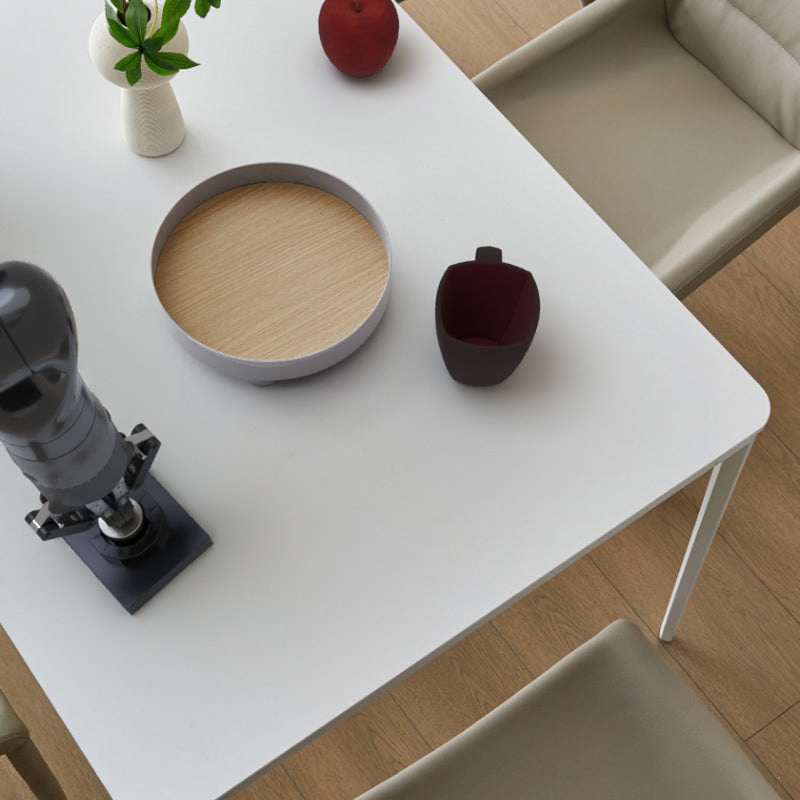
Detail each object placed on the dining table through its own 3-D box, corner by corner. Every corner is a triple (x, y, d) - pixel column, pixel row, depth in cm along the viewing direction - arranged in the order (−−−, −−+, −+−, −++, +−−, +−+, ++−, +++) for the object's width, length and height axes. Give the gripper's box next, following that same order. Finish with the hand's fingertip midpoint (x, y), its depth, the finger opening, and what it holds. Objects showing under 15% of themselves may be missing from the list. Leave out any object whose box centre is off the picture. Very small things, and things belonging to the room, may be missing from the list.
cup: (427, 400, 105) (431, 345, 94) (436, 286, 111) (441, 221, 100) (523, 408, 104) (539, 354, 94) (527, 293, 110) (542, 229, 100)
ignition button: (94, 523, 95) (89, 516, 93) (128, 495, 96) (123, 488, 94) (121, 553, 94) (116, 546, 92) (155, 524, 95) (151, 517, 93)
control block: (54, 528, 98) (41, 514, 95) (135, 460, 102) (126, 445, 98) (131, 615, 95) (121, 605, 91) (213, 543, 98) (207, 530, 94)
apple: (410, 47, 125) (412, -18, 116) (380, 103, 121) (380, 40, 112) (339, 25, 127) (336, -41, 118) (308, 79, 123) (301, 16, 114)
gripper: (103, 355, 80) (150, 441, 96) (-38, 464, 76) (35, 535, 92) (164, 417, 78) (202, 494, 94) (21, 533, 74) (86, 594, 89)
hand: (119, 515), depth 93 cm, fingers closed
